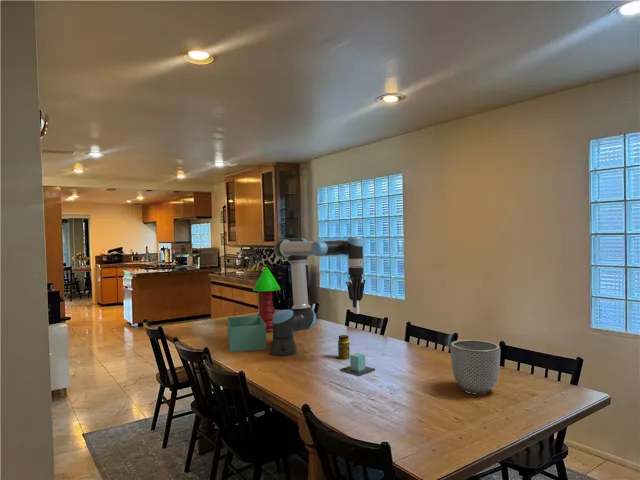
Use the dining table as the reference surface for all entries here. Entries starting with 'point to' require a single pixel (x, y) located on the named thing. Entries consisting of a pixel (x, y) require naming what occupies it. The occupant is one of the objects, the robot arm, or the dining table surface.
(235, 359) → the dining table surface
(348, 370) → the grey square plate
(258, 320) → the box
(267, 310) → the table lamp
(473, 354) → the planter
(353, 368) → the teal block
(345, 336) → the condiment
